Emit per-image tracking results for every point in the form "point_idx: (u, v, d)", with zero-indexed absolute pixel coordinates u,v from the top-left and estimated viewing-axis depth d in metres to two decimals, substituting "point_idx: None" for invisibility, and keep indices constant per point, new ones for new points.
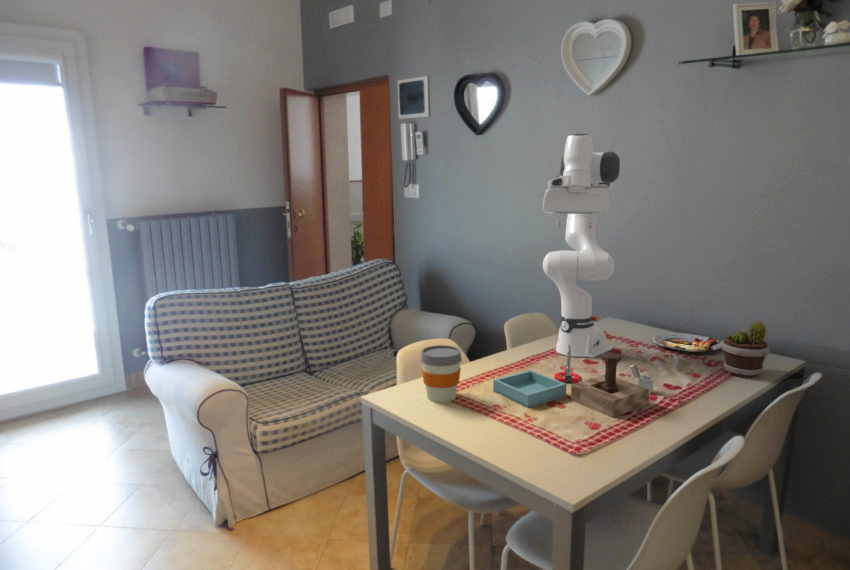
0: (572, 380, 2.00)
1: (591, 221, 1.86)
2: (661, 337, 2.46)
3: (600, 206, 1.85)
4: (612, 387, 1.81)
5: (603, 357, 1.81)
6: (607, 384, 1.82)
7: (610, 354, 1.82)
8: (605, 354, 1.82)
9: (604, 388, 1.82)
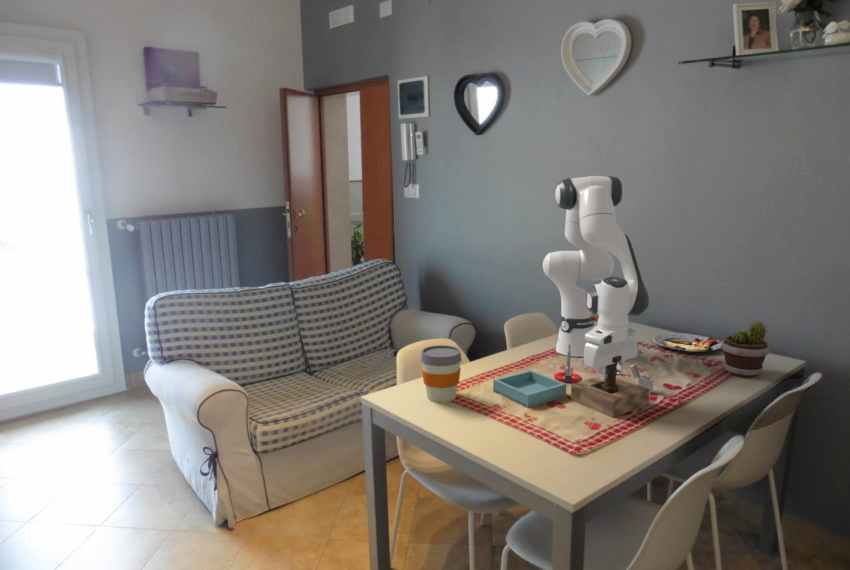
0: (572, 380, 2.00)
1: (620, 369, 1.83)
2: (661, 337, 2.46)
3: (632, 353, 1.84)
4: (612, 387, 1.81)
5: None
6: (607, 384, 1.82)
7: None
8: None
9: (604, 388, 1.82)
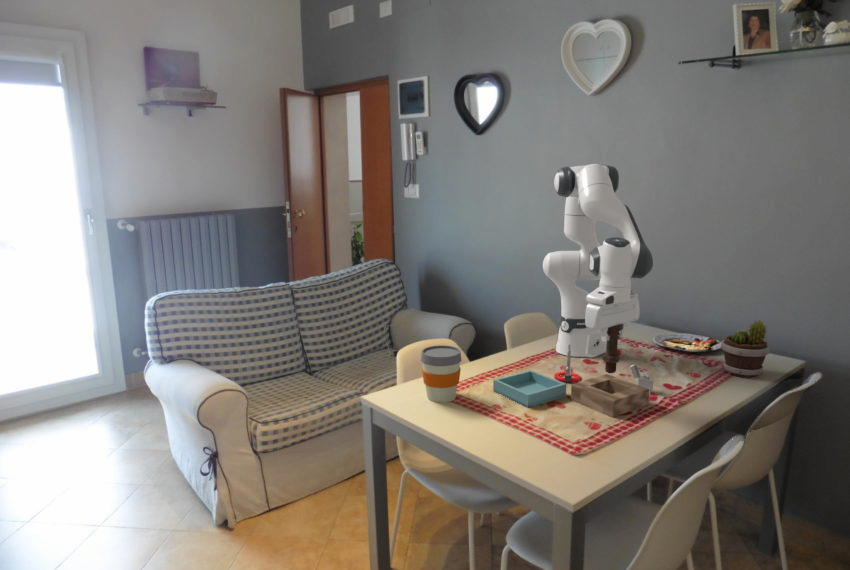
0: (572, 380, 2.00)
1: (621, 332, 1.81)
2: (661, 337, 2.46)
3: (634, 315, 1.81)
4: (614, 356, 1.80)
5: None
6: (609, 353, 1.80)
7: None
8: None
9: (606, 358, 1.80)
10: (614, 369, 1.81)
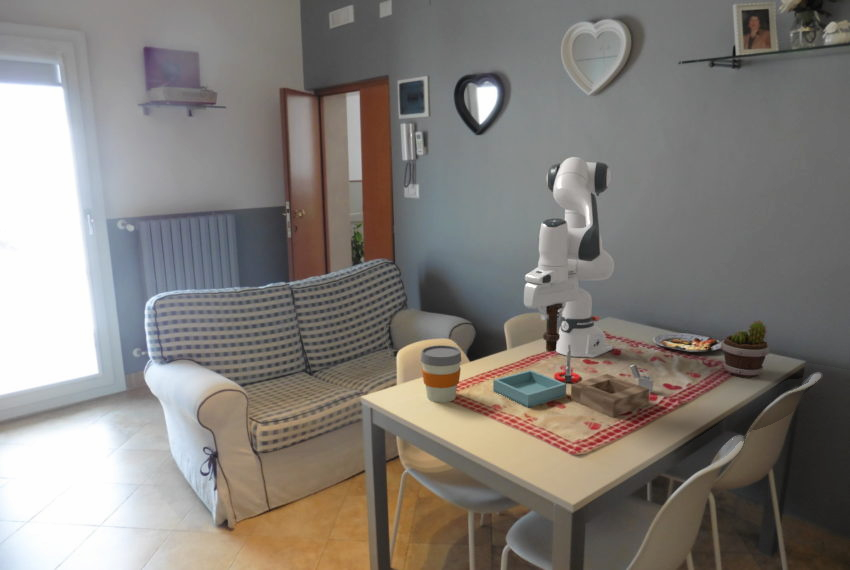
0: (572, 380, 2.00)
1: (561, 311, 1.85)
2: (661, 337, 2.46)
3: (573, 295, 1.86)
4: (553, 335, 1.84)
5: None
6: (549, 332, 1.84)
7: None
8: None
9: (546, 336, 1.85)
10: (554, 347, 1.85)
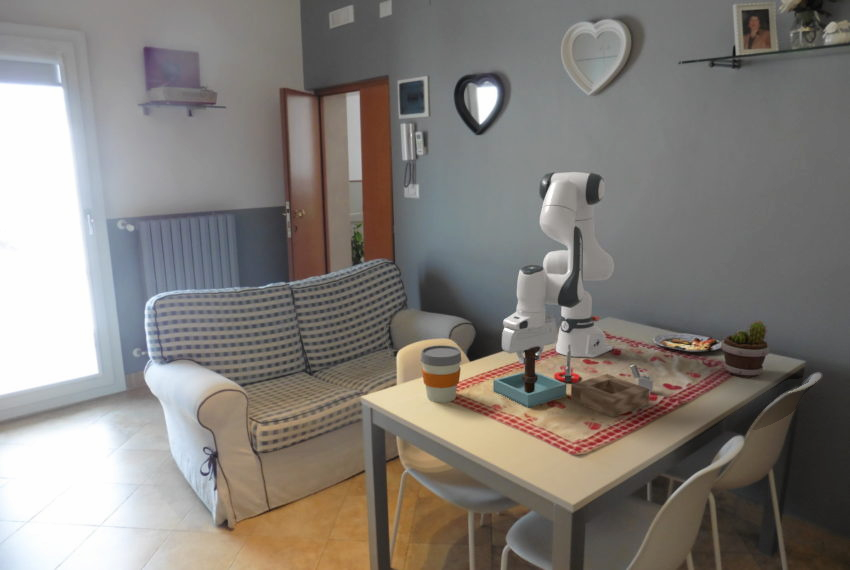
0: (572, 380, 2.00)
1: (539, 354, 1.90)
2: (661, 337, 2.46)
3: (551, 339, 1.91)
4: (531, 377, 1.89)
5: None
6: (527, 374, 1.89)
7: None
8: None
9: (524, 378, 1.89)
10: (532, 389, 1.90)
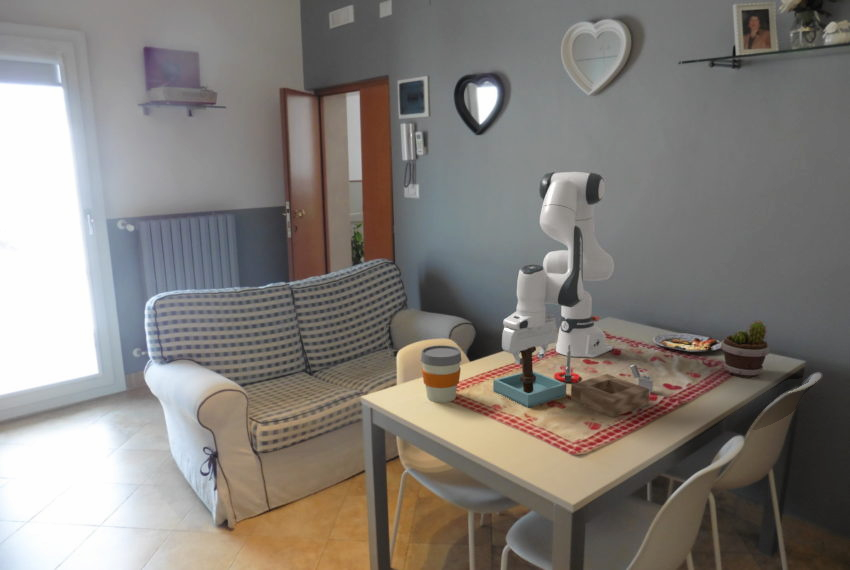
0: (572, 380, 2.00)
1: (543, 353, 1.91)
2: (661, 337, 2.46)
3: (551, 338, 1.91)
4: (529, 377, 1.88)
5: None
6: (525, 374, 1.89)
7: None
8: None
9: (522, 378, 1.89)
10: (531, 389, 1.90)
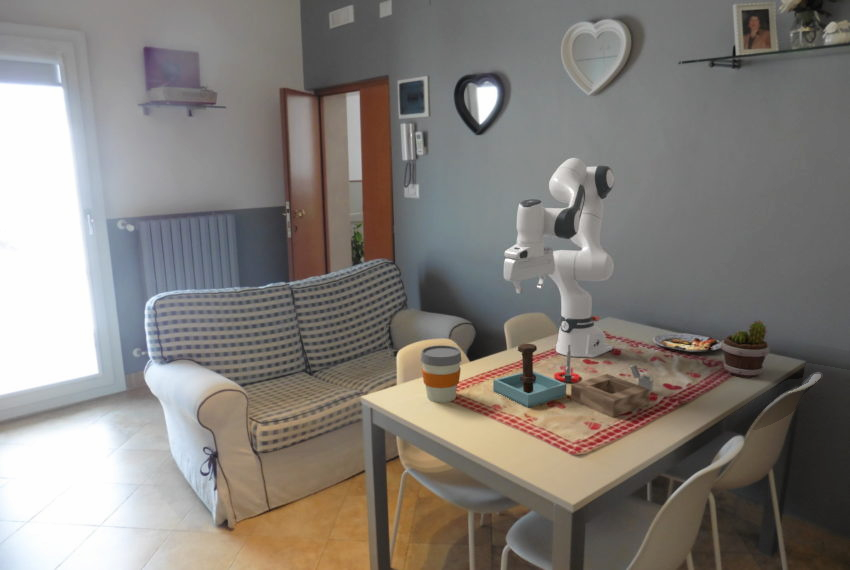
0: (572, 380, 2.00)
1: (542, 283, 2.04)
2: (661, 337, 2.46)
3: (549, 269, 2.03)
4: (530, 376, 1.88)
5: (519, 348, 1.88)
6: (525, 374, 1.89)
7: (526, 345, 1.89)
8: (521, 345, 1.89)
9: (522, 378, 1.89)
10: (531, 389, 1.90)
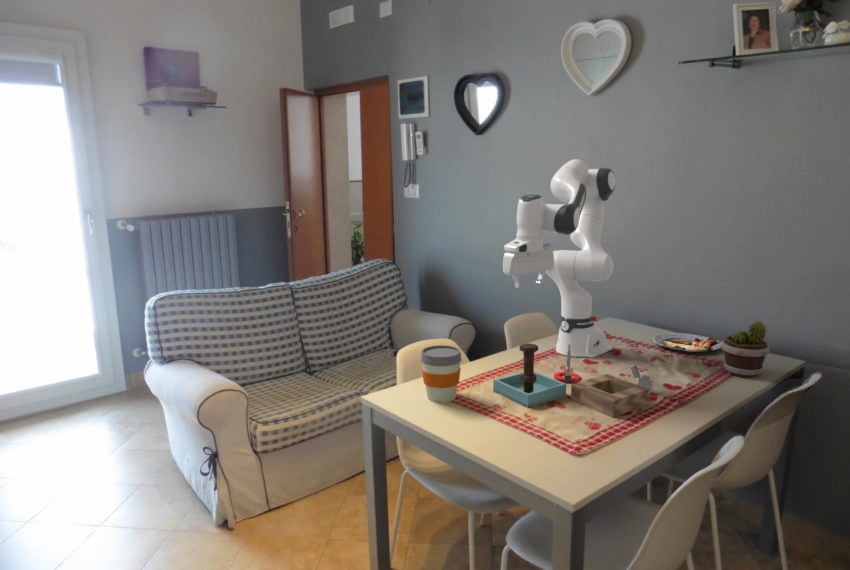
0: (572, 380, 2.00)
1: (541, 279, 2.05)
2: (661, 337, 2.46)
3: (548, 265, 2.04)
4: (530, 376, 1.89)
5: (521, 348, 1.88)
6: (526, 374, 1.89)
7: (527, 345, 1.89)
8: (523, 345, 1.89)
9: (523, 378, 1.89)
10: (531, 389, 1.90)
